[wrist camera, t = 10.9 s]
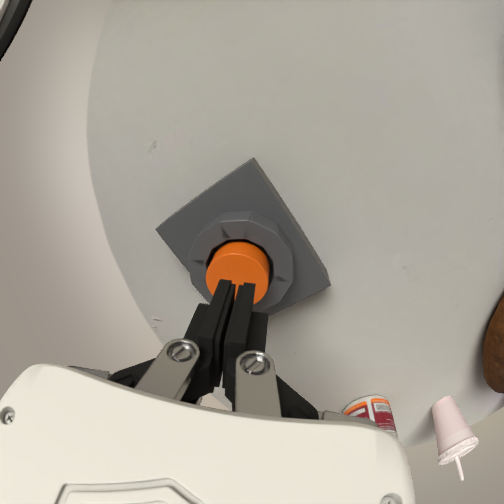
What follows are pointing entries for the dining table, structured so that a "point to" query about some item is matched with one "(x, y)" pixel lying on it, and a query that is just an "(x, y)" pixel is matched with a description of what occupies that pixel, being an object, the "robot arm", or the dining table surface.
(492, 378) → the bread
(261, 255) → the button
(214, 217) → the control block
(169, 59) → the dining table surface
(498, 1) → the dining table surface
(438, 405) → the smoothie
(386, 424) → the pill bottle
